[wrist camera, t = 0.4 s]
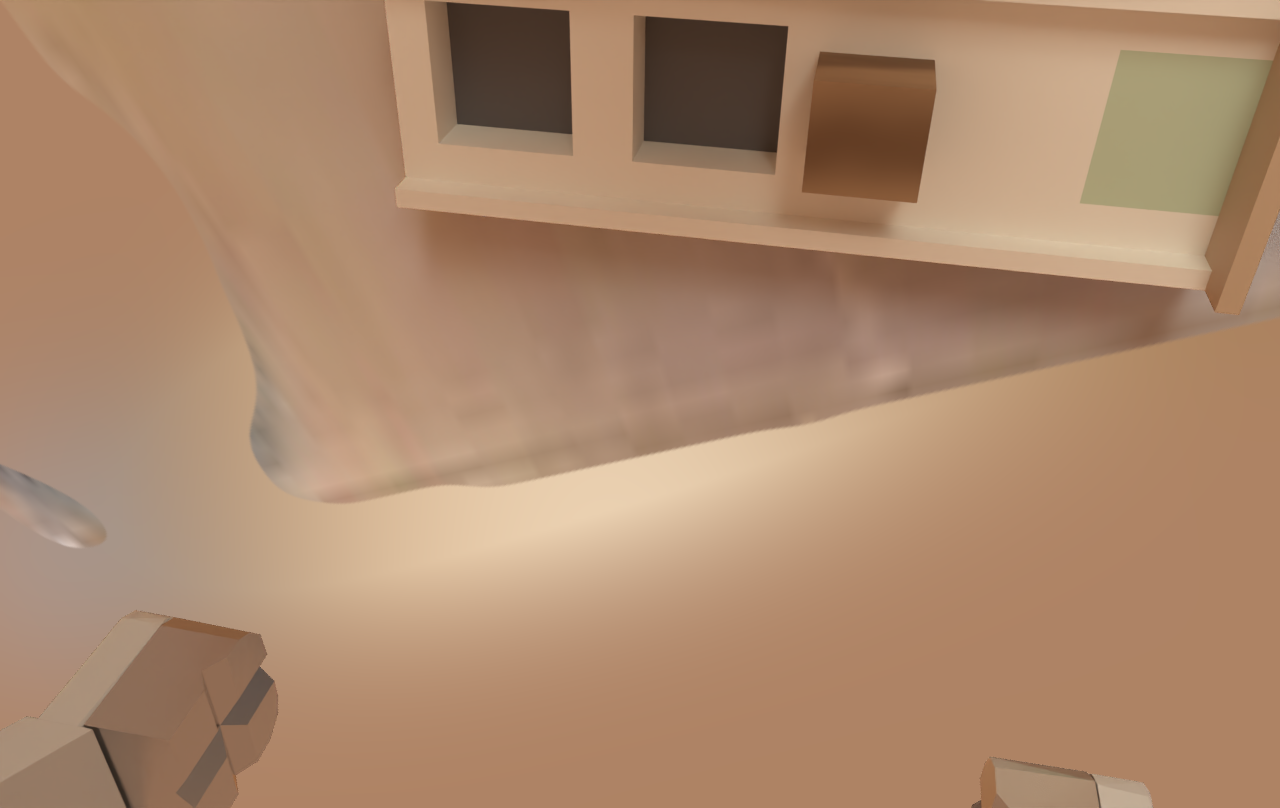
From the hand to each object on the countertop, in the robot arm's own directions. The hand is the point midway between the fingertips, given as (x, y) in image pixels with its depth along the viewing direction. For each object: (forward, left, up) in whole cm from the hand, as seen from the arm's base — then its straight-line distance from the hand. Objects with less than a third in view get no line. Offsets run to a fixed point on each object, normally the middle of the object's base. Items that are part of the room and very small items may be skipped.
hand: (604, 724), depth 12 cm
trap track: (+7, 0, -44) cm, 45 cm away
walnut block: (+7, +3, -41) cm, 42 cm away
